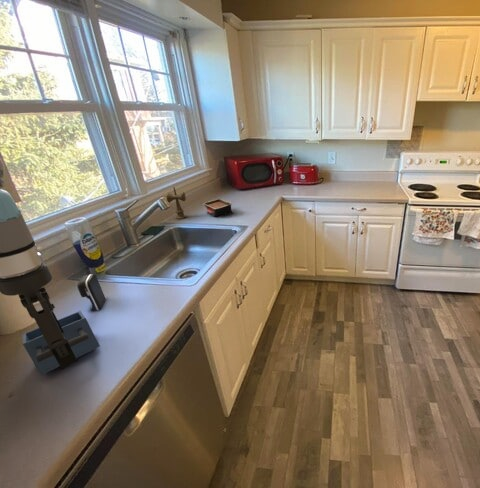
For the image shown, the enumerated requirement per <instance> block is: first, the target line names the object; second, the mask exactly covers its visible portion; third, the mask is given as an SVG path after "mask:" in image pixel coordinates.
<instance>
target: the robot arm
mask: <svg viewBox="0 0 480 488" xmlns="http://www.w3.org/2000/svg"><path fill="white" fill-rule="evenodd" d="M43 251H44V248H43V247H42V246H38V247H37V244H36V242H35V240H34V237H33V235H32V233H31V231H30V229H29V226H28V224H27V222H26V221H25V218H24V216H23V214H22V210H21V208H20V207H19V206H18V205H17V203H16V201H15V200H14V198H13V196H12V195H11V194H10V192H9V191H7V190H5V189H2V188H0V294H1V295H5V296H9V297H10V296H11V297H12V296H13V297H14V296H18V298H19V299H20V300H19V301H20V304H21V305H22V307H23V308H25V309H26V311H27V313H28V315H29V317H30V318H31V319H34V321H35V323H36V325H37V326H38V327H37V328H40V330H41V332H42V334H43V336H44V338H45V340H46V342H47V344H48V345H47V346H45V347H44V349H45V350H47V349H50V350H51V351H52V353H53V355H54V356H55V358H56V360H57V362H58V363H59V365H60V366H59V367H60V369H61V370H64V369H66V368H68V367H70V366H73V365H75V364H76V363H78V362H79V361H78V358H76V357H75V355H74V353H73V351H72V349H71V347H70V345H69V343H68V341H67V340H66V338H65V337H64V336H63V334H62V333H64V331H63V329H62V327H61V326H60V324H59V322H58V320H59V319H58V318H57V316H56V314H55V312H54V309H55V308H56V306H55V304H54V303H51V302H50V299H51V298H50V295H49V293H48V292H47V289H46V288H45V286H46V285H49V283H50V282H51V281H52V280H53V275H52V273H51V272H50V270H49V267H48V266H47V263H44V258H43V257H42V254H41V252H43Z"/></svg>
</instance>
